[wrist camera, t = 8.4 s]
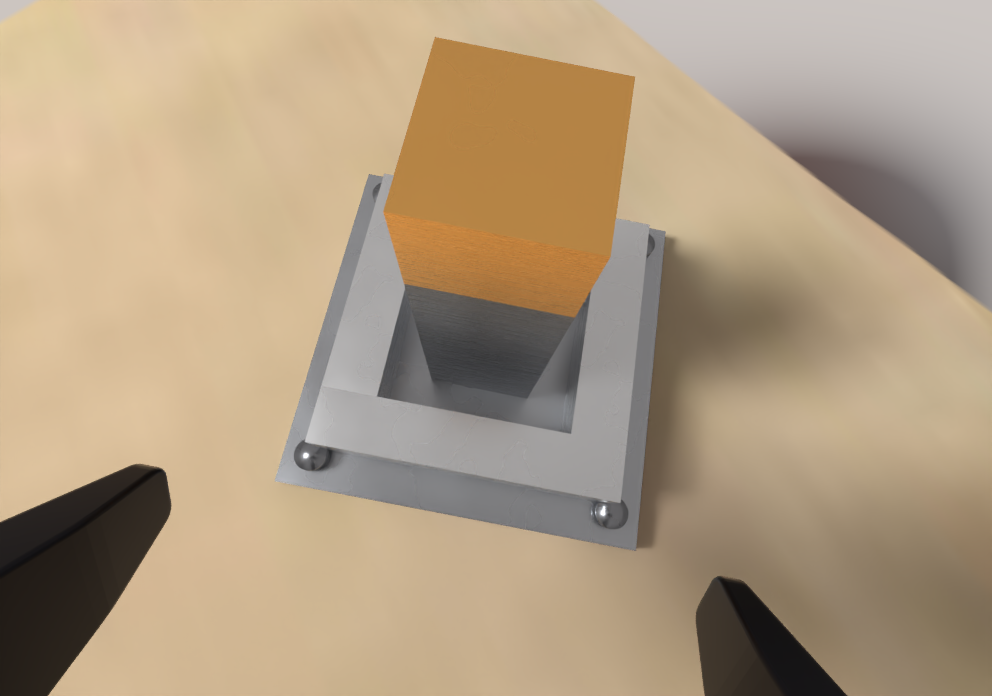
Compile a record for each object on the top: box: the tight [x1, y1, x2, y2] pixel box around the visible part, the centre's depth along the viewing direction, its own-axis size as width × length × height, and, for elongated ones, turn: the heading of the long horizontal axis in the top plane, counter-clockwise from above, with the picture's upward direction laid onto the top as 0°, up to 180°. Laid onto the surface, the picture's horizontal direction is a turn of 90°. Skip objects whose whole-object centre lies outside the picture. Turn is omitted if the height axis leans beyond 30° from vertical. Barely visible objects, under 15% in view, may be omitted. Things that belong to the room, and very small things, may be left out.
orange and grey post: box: [383, 37, 635, 399], centre depth 15 cm, size 4×4×12 cm
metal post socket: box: [275, 174, 665, 551], centre depth 20 cm, size 14×14×3 cm
